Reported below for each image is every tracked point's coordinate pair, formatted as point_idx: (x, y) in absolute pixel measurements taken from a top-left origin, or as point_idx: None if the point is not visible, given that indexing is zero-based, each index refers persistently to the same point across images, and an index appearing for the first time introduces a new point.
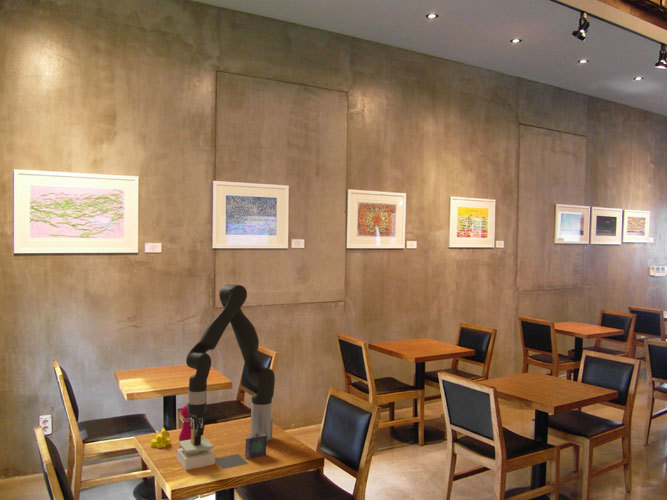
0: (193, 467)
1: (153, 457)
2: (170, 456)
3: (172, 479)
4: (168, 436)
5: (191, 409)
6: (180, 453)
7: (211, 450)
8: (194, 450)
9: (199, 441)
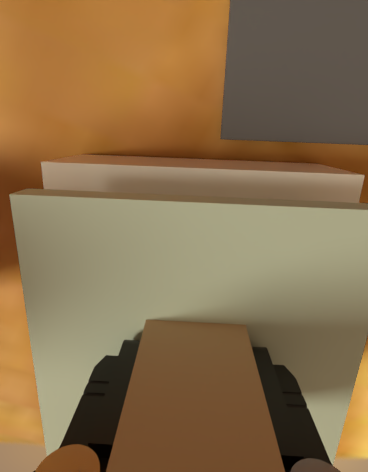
0: None
1: (8, 430)
2: (28, 360)
3: (342, 434)
4: None
5: None
6: None
7: (260, 176)
8: (339, 412)
9: (299, 399)
